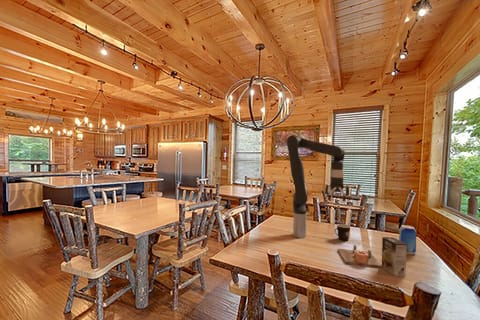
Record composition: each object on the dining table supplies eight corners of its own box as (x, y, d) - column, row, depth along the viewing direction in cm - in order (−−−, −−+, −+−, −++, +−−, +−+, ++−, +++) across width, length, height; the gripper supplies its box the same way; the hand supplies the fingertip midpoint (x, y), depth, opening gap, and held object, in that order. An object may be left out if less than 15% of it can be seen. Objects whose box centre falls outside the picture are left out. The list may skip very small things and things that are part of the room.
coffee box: (381, 266, 115) (381, 236, 115) (392, 266, 115) (393, 236, 115) (394, 276, 106) (395, 243, 106) (406, 275, 106) (407, 243, 106)
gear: (354, 258, 122) (354, 250, 122) (365, 259, 120) (365, 251, 120) (358, 262, 116) (358, 254, 116) (369, 264, 115) (369, 255, 115)
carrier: (345, 263, 117) (346, 254, 117) (337, 250, 135) (337, 242, 135) (382, 268, 113) (382, 258, 113) (369, 253, 131) (369, 245, 131)
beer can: (412, 250, 137) (412, 225, 137) (418, 255, 129) (419, 229, 129) (396, 248, 140) (397, 224, 140) (401, 253, 132) (402, 227, 132)
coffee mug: (347, 237, 158) (347, 224, 158) (352, 242, 149) (352, 228, 149) (330, 237, 159) (331, 223, 159) (334, 241, 150) (335, 227, 150)
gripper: (347, 176, 143) (346, 200, 143) (324, 175, 146) (324, 199, 146) (350, 177, 135) (349, 202, 135) (326, 176, 138) (326, 201, 138)
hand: (336, 201), depth 141 cm, fingers open, 8 cm apart
